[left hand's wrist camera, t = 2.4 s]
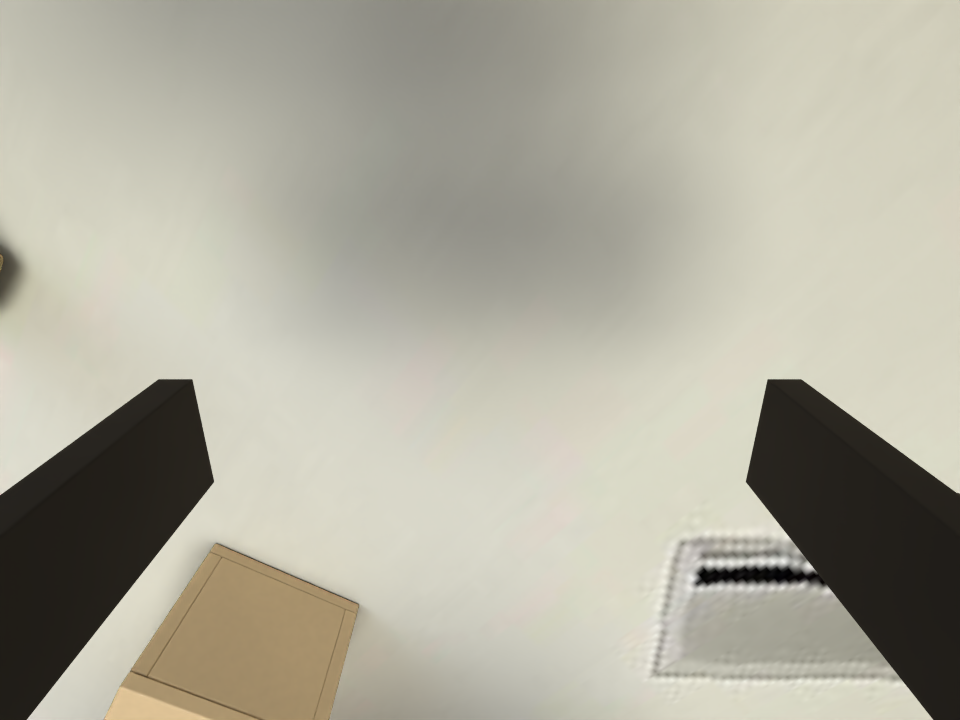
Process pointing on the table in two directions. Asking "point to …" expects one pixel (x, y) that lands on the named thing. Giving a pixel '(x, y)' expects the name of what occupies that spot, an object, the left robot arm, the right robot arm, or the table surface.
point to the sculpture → (1, 261)
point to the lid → (163, 703)
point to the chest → (252, 640)
